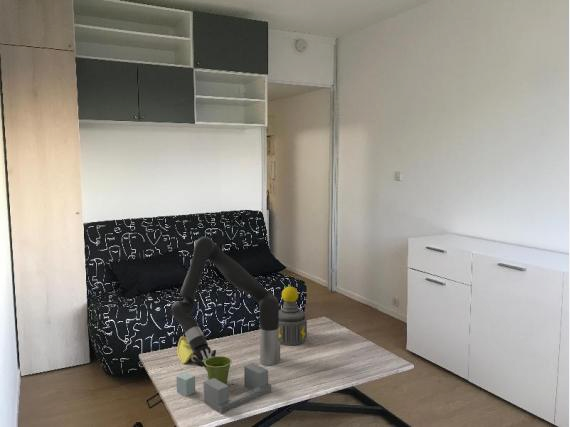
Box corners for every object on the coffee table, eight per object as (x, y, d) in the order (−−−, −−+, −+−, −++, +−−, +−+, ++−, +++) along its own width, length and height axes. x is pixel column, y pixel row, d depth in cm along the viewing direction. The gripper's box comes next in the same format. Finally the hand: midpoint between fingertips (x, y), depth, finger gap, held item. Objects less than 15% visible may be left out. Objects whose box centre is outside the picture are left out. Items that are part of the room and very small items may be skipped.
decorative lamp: (314, 339, 261) (314, 286, 258) (292, 349, 247) (291, 293, 244) (288, 331, 273) (288, 280, 270) (266, 340, 259) (265, 287, 256)
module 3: (253, 382, 209) (252, 362, 208) (268, 390, 201) (268, 369, 201) (244, 386, 205) (244, 366, 204) (259, 394, 198) (259, 373, 197)
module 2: (214, 398, 194) (213, 377, 193) (228, 407, 187) (228, 385, 186) (203, 402, 191) (203, 381, 190) (218, 412, 184) (218, 390, 183)
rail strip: (267, 389, 202) (267, 383, 201) (271, 391, 200) (271, 384, 200) (218, 411, 184) (217, 404, 184) (221, 414, 182) (221, 406, 182)
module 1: (185, 387, 204) (185, 372, 204) (195, 391, 201) (195, 375, 200) (176, 392, 200) (176, 376, 200) (186, 396, 197) (186, 380, 196)
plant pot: (231, 391, 200) (231, 366, 199) (203, 393, 199) (202, 367, 198) (232, 379, 212) (232, 355, 211) (205, 380, 211) (205, 356, 210)
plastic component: (207, 355, 233) (189, 351, 228) (201, 369, 232) (183, 365, 228) (195, 340, 250) (179, 335, 245) (189, 352, 250) (172, 348, 245)
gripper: (186, 338, 209) (202, 373, 202) (211, 331, 218) (227, 364, 211) (180, 346, 214) (196, 381, 206) (205, 339, 223) (220, 372, 215)
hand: (211, 373), depth 209 cm, fingers closed
